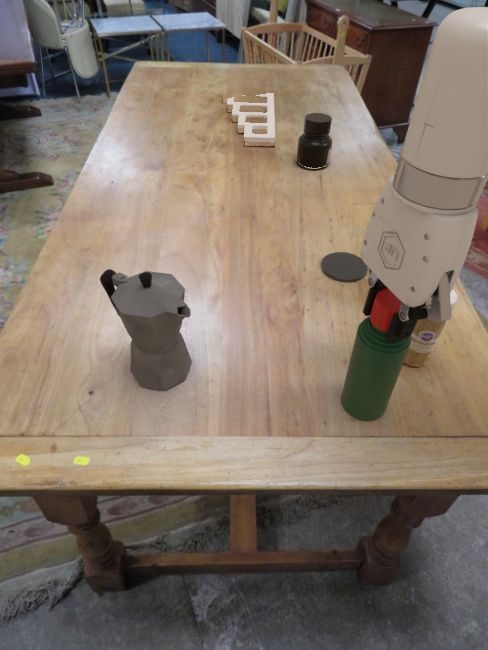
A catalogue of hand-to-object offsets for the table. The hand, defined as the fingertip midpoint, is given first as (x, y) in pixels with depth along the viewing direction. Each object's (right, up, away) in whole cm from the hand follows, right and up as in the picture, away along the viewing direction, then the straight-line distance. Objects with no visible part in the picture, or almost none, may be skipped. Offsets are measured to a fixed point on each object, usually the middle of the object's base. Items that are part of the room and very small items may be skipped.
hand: (385, 323), depth 52 cm
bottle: (0, -11, +11) cm, 16 cm away
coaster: (+3, +11, +34) cm, 36 cm away
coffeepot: (-30, -6, +16) cm, 35 cm away
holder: (-16, +67, +90) cm, 114 cm away
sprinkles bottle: (+10, -5, +18) cm, 21 cm away
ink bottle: (+2, +44, +67) cm, 80 cm away
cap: (0, 0, 0) cm, 1 cm away
